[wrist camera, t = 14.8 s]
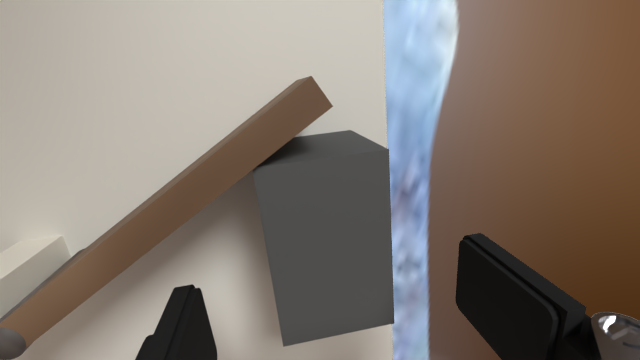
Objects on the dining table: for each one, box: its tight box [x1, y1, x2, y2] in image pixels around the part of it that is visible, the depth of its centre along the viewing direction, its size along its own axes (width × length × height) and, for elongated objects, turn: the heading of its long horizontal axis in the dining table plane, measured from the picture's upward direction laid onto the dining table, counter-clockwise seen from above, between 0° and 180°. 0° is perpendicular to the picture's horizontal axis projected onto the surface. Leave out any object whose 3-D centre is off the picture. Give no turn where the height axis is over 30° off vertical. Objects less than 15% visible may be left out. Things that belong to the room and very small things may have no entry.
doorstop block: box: [253, 130, 394, 347], centre depth 15 cm, size 8×5×6 cm, turn 6°
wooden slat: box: [0, 76, 333, 360], centre depth 13 cm, size 1×15×6 cm, turn 127°
